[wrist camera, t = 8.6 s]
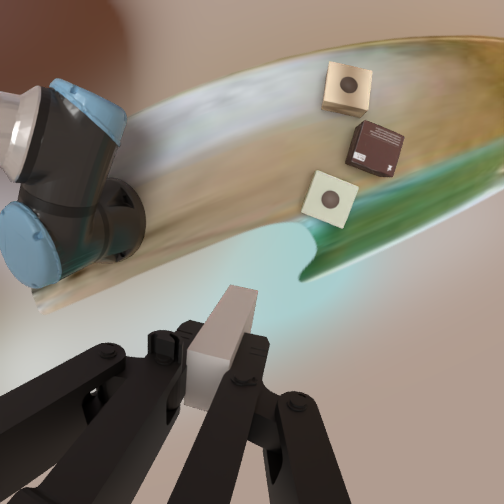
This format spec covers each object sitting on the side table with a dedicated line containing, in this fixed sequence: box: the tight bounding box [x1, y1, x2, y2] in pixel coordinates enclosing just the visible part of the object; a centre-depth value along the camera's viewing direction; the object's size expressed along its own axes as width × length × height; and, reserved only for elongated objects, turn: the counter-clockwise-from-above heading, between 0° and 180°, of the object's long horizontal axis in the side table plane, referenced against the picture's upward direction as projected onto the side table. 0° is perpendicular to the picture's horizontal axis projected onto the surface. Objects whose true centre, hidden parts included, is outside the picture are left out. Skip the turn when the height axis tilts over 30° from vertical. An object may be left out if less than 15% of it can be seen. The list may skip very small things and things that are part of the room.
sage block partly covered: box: [301, 170, 359, 229], centre depth 43 cm, size 6×6×6 cm
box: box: [345, 120, 405, 177], centre depth 39 cm, size 6×6×7 cm
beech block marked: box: [321, 61, 372, 118], centre depth 38 cm, size 6×6×6 cm
